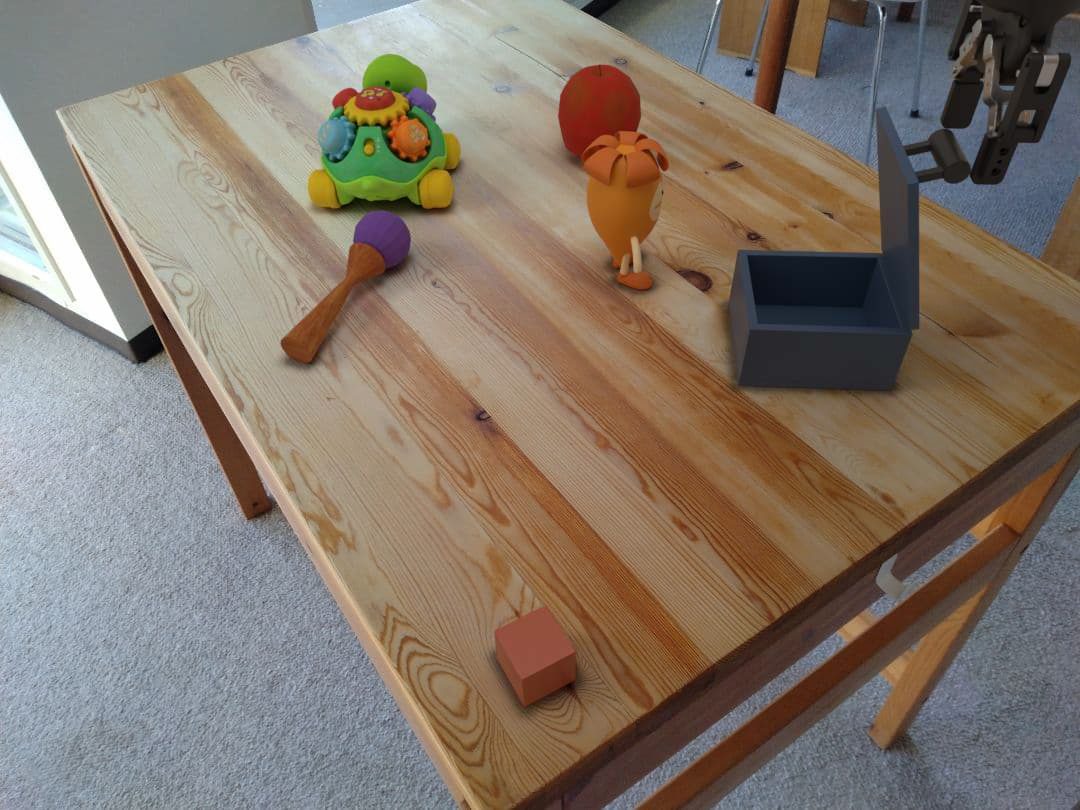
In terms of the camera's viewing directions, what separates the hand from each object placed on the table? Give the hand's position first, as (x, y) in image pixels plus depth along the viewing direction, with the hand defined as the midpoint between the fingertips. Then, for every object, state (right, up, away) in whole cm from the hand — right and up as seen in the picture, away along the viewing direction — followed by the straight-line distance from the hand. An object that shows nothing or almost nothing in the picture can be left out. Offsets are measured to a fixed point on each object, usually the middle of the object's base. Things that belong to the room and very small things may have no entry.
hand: (968, 153), depth 66 cm
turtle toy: (-51, +9, +39) cm, 65 cm away
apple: (-26, +12, +41) cm, 50 cm away
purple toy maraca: (-52, -9, +22) cm, 57 cm away
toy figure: (-25, -6, +24) cm, 35 cm away
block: (-33, -38, -7) cm, 51 cm away
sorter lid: (-4, -4, +5) cm, 7 cm away
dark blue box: (-8, -14, +15) cm, 22 cm away
